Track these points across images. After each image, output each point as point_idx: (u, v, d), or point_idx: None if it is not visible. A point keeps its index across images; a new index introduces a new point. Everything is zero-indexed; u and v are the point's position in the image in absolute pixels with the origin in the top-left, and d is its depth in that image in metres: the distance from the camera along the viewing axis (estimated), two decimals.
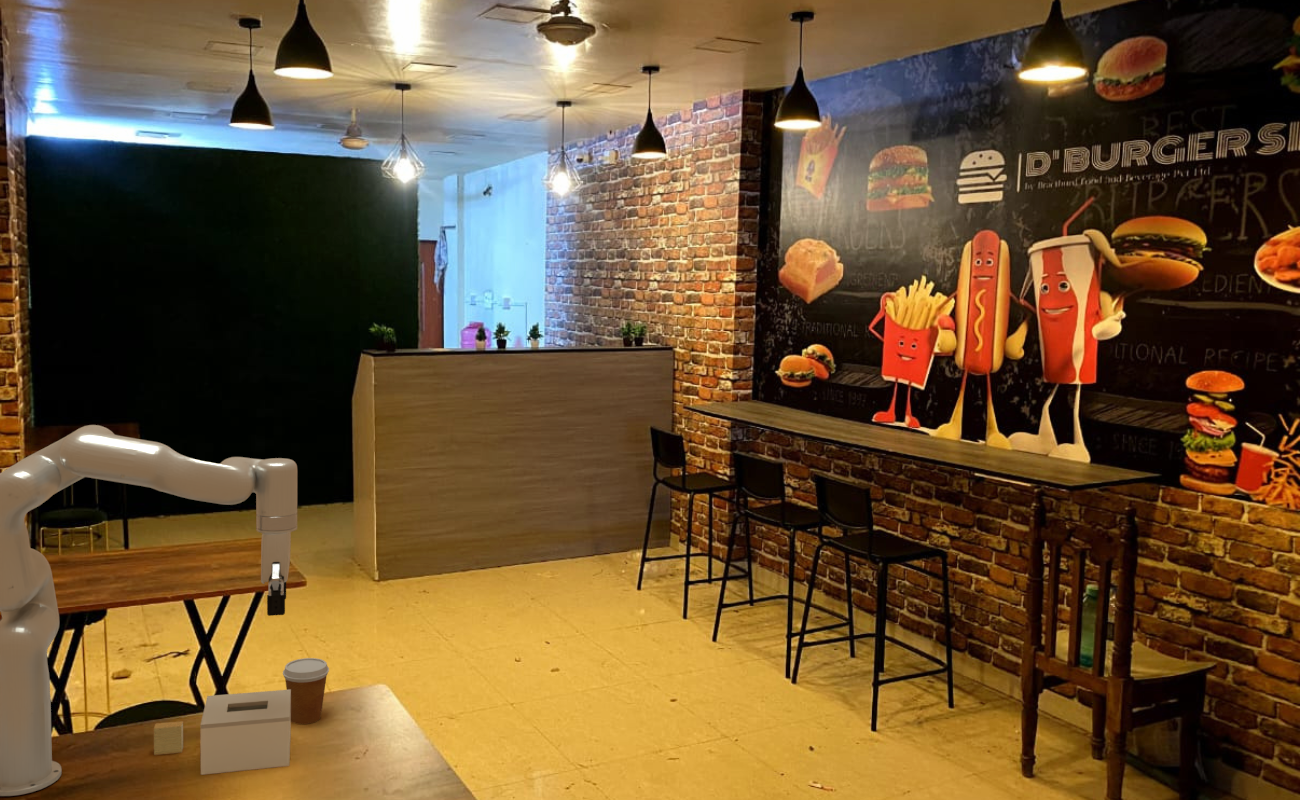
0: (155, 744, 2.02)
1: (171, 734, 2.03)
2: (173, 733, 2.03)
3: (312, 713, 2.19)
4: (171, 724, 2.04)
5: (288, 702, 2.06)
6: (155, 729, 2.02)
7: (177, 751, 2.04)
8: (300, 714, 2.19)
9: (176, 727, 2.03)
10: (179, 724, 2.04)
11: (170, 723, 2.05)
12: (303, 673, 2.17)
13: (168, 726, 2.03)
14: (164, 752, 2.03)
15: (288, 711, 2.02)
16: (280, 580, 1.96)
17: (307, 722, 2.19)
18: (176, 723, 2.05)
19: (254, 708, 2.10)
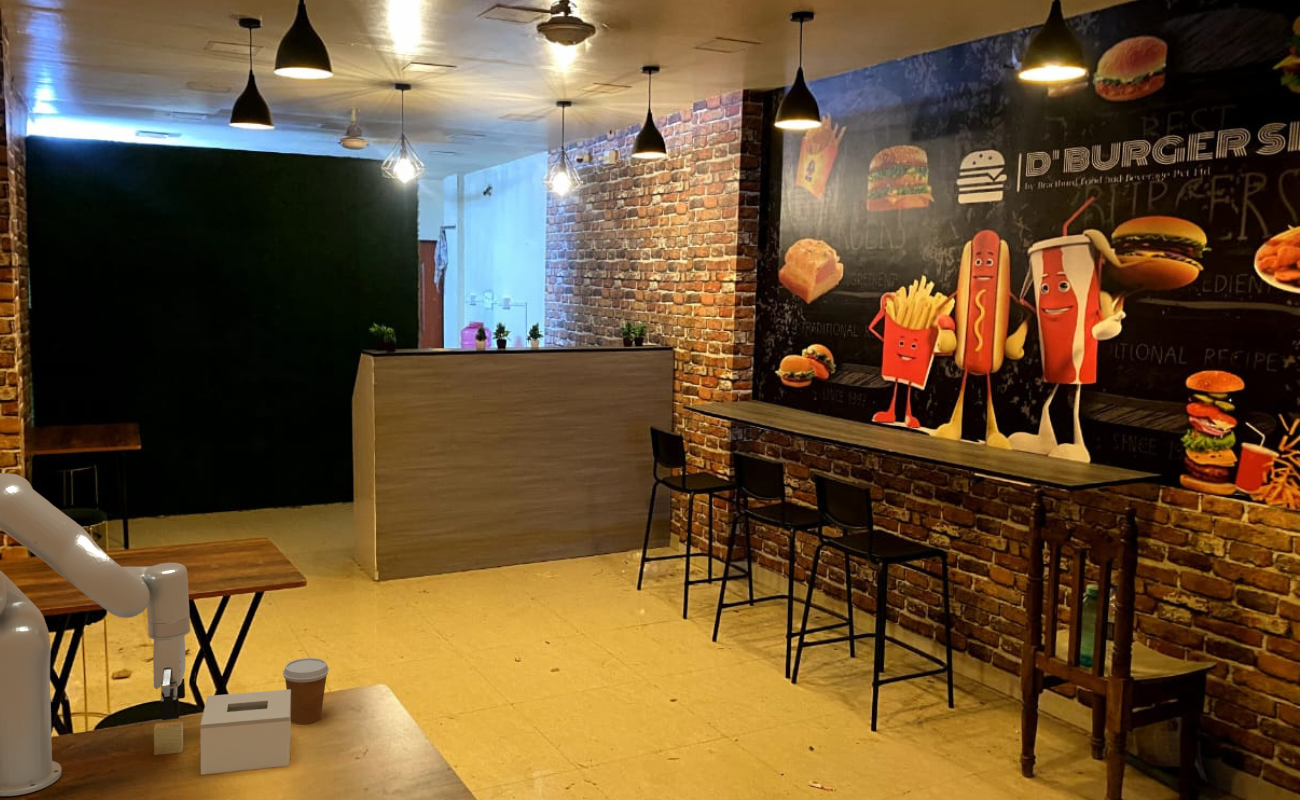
0: (155, 744, 2.02)
1: (171, 734, 2.03)
2: (173, 733, 2.03)
3: (312, 713, 2.19)
4: (171, 724, 2.04)
5: (288, 702, 2.06)
6: (155, 729, 2.02)
7: (177, 751, 2.04)
8: (300, 714, 2.19)
9: (176, 727, 2.03)
10: (180, 724, 2.04)
11: (170, 723, 2.05)
12: (303, 673, 2.17)
13: (168, 726, 2.03)
14: (164, 752, 2.03)
15: (288, 711, 2.02)
16: (173, 685, 1.99)
17: (307, 722, 2.19)
18: (176, 723, 2.05)
19: (254, 708, 2.10)
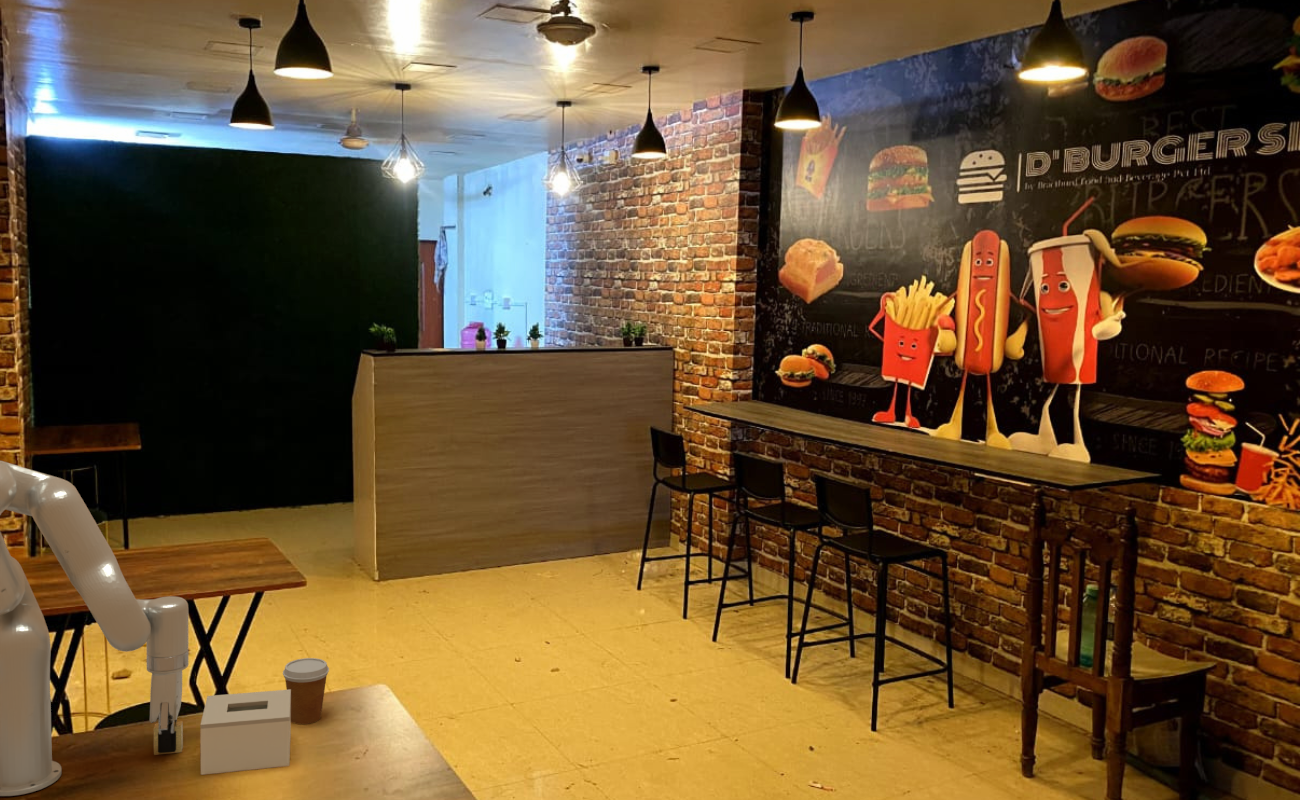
0: (155, 744, 2.02)
1: None
2: None
3: (312, 713, 2.19)
4: None
5: (288, 702, 2.06)
6: (155, 729, 2.02)
7: (177, 751, 2.04)
8: (300, 714, 2.19)
9: (176, 726, 2.03)
10: (179, 724, 2.04)
11: (170, 723, 2.04)
12: (303, 673, 2.17)
13: None
14: None
15: (288, 711, 2.02)
16: (170, 721, 2.01)
17: (307, 722, 2.19)
18: (176, 723, 2.05)
19: (254, 708, 2.10)
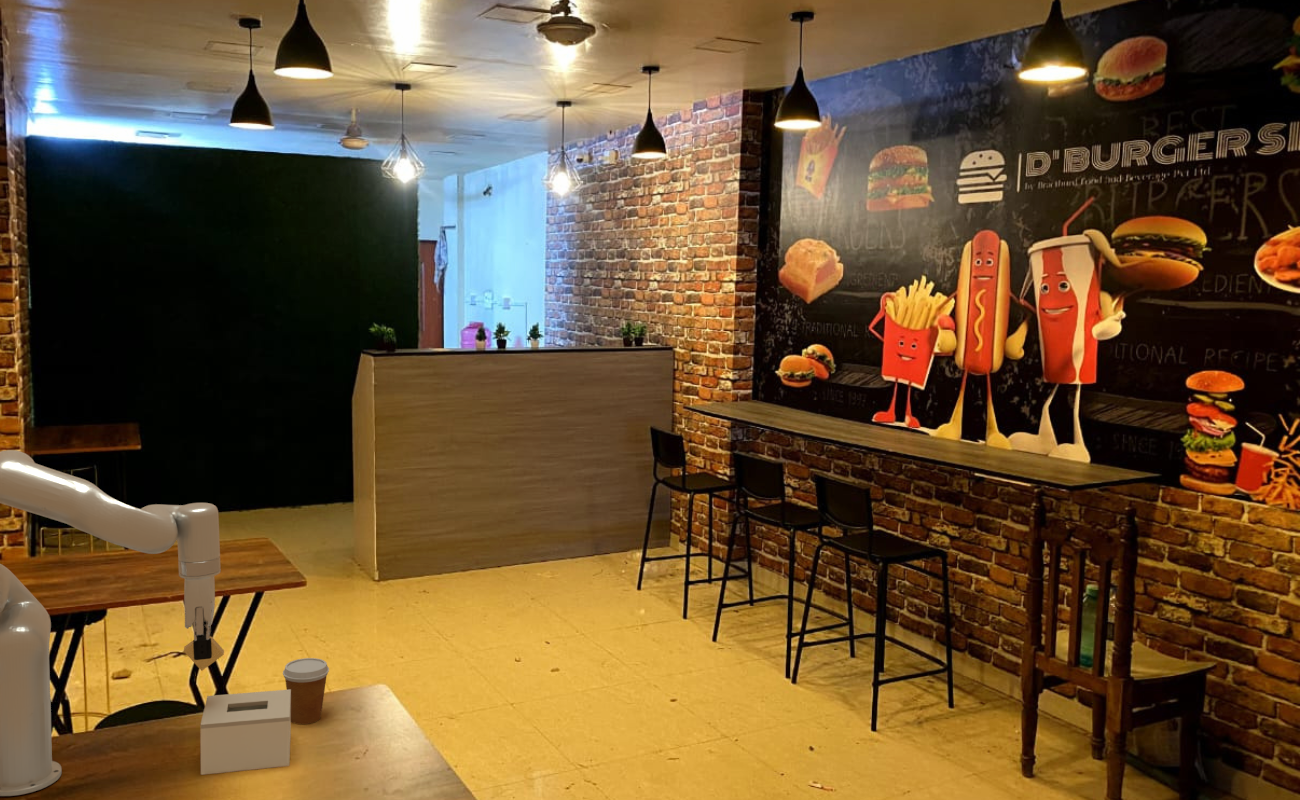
0: (195, 662, 2.01)
1: None
2: None
3: (312, 713, 2.19)
4: None
5: (288, 702, 2.06)
6: (185, 650, 2.00)
7: (219, 656, 2.03)
8: (300, 714, 2.19)
9: None
10: None
11: None
12: (303, 673, 2.17)
13: None
14: (208, 663, 2.02)
15: (288, 711, 2.02)
16: (205, 627, 2.00)
17: (307, 722, 2.19)
18: None
19: (254, 708, 2.10)
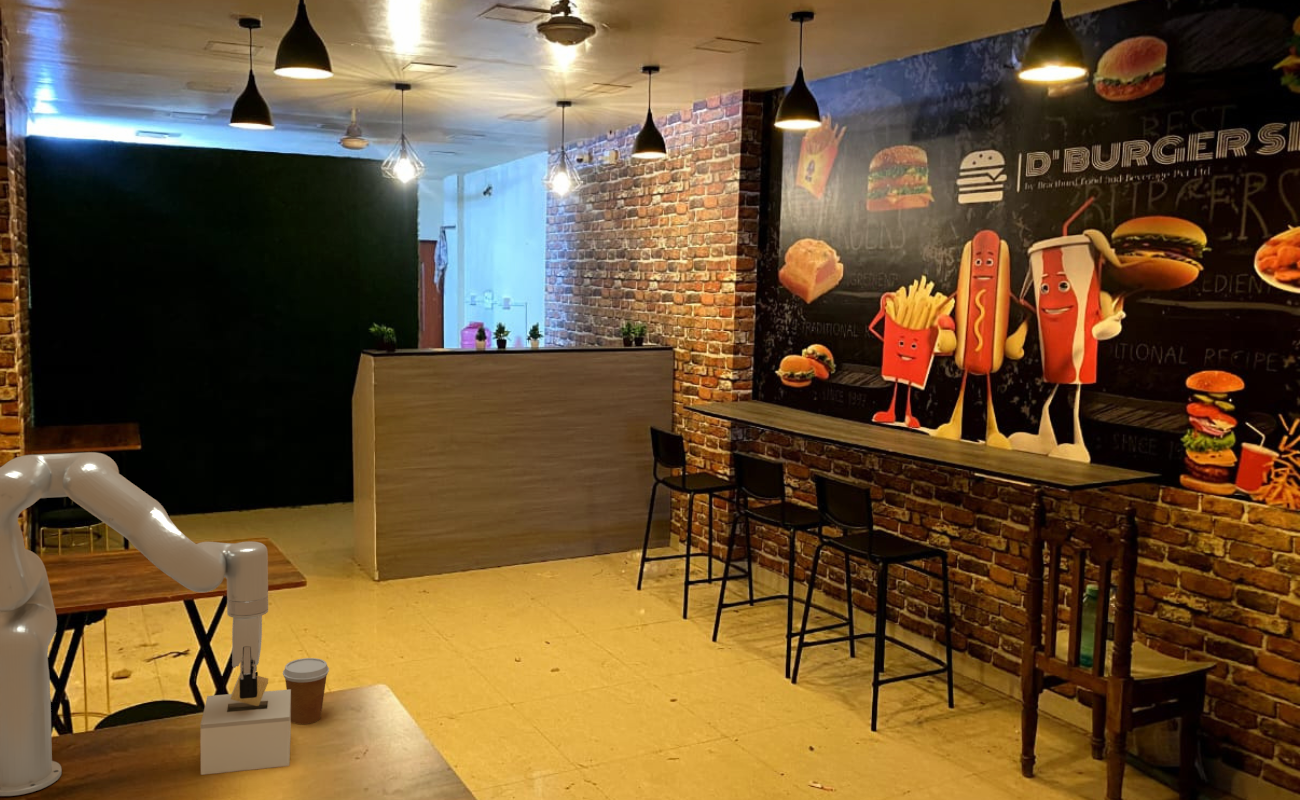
0: (247, 702, 2.02)
1: None
2: None
3: (312, 713, 2.19)
4: (236, 682, 2.02)
5: (288, 702, 2.06)
6: (232, 698, 2.01)
7: (264, 686, 2.03)
8: (300, 714, 2.19)
9: (238, 680, 2.01)
10: (239, 675, 2.02)
11: (236, 682, 2.03)
12: (303, 673, 2.17)
13: (235, 686, 2.02)
14: (260, 697, 2.03)
15: (288, 711, 2.02)
16: (252, 666, 2.00)
17: (307, 722, 2.19)
18: (238, 677, 2.03)
19: (254, 708, 2.10)
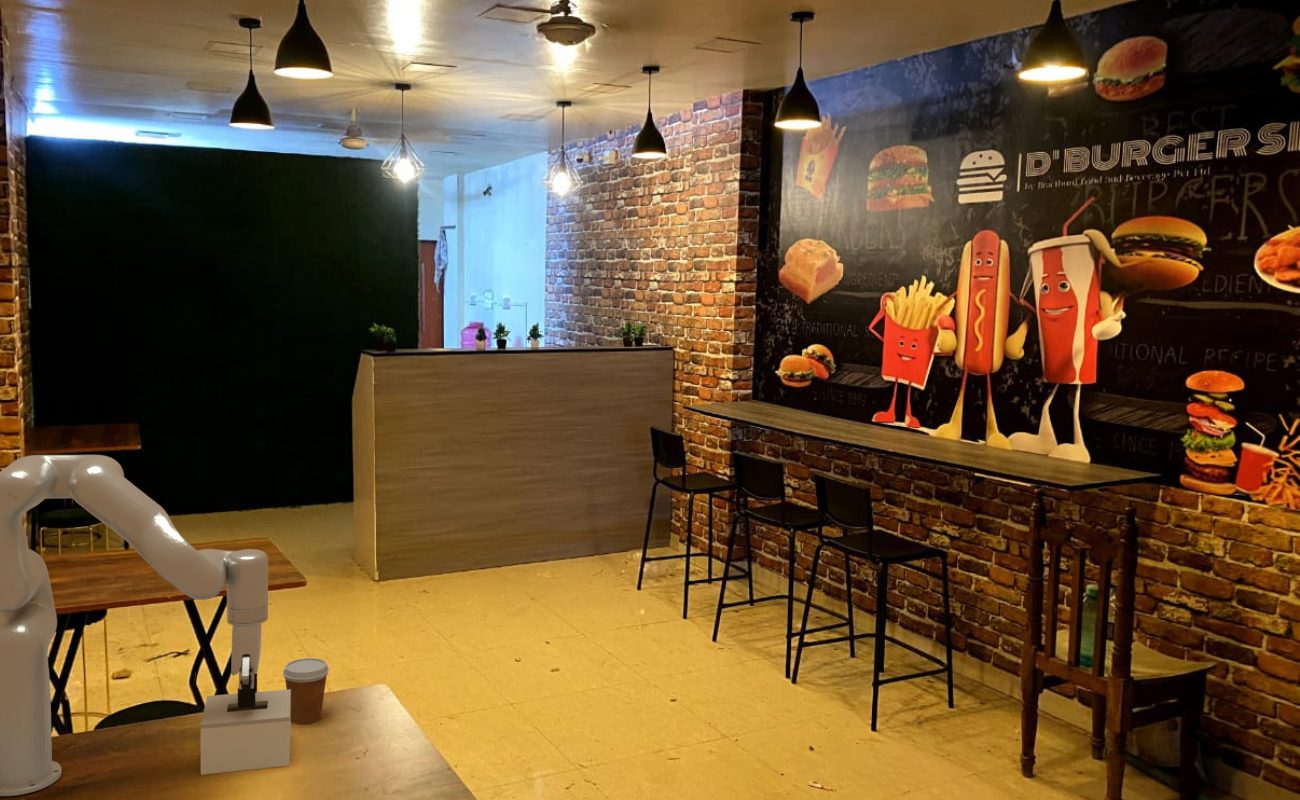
0: None
1: None
2: None
3: (312, 713, 2.19)
4: None
5: (288, 702, 2.06)
6: None
7: None
8: (300, 714, 2.19)
9: None
10: None
11: None
12: (303, 673, 2.17)
13: None
14: None
15: (288, 711, 2.02)
16: (250, 673, 1.99)
17: (307, 722, 2.19)
18: None
19: (254, 708, 2.10)
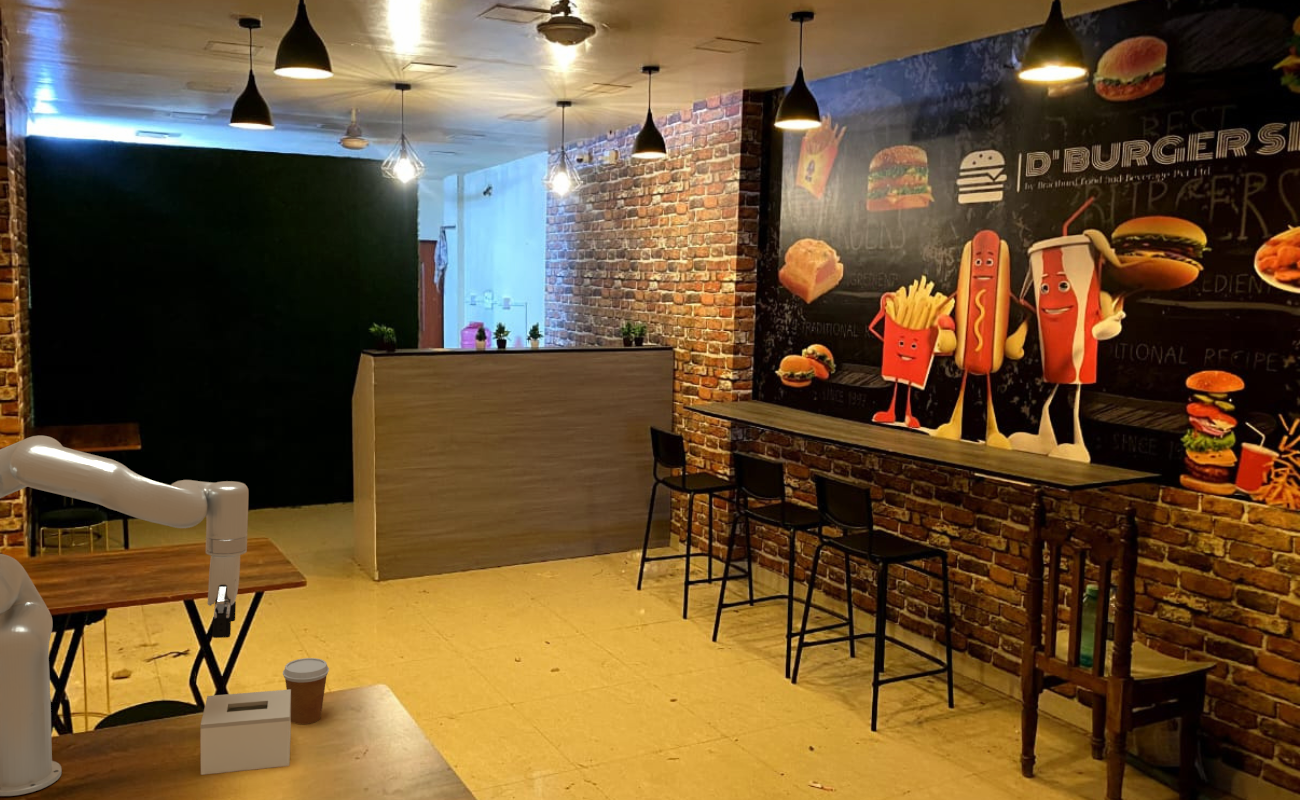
0: None
1: None
2: None
3: (312, 713, 2.19)
4: None
5: (288, 702, 2.06)
6: None
7: None
8: (300, 714, 2.19)
9: None
10: None
11: None
12: (303, 673, 2.17)
13: None
14: None
15: (288, 711, 2.02)
16: (226, 603, 1.98)
17: (307, 722, 2.19)
18: None
19: (254, 708, 2.10)
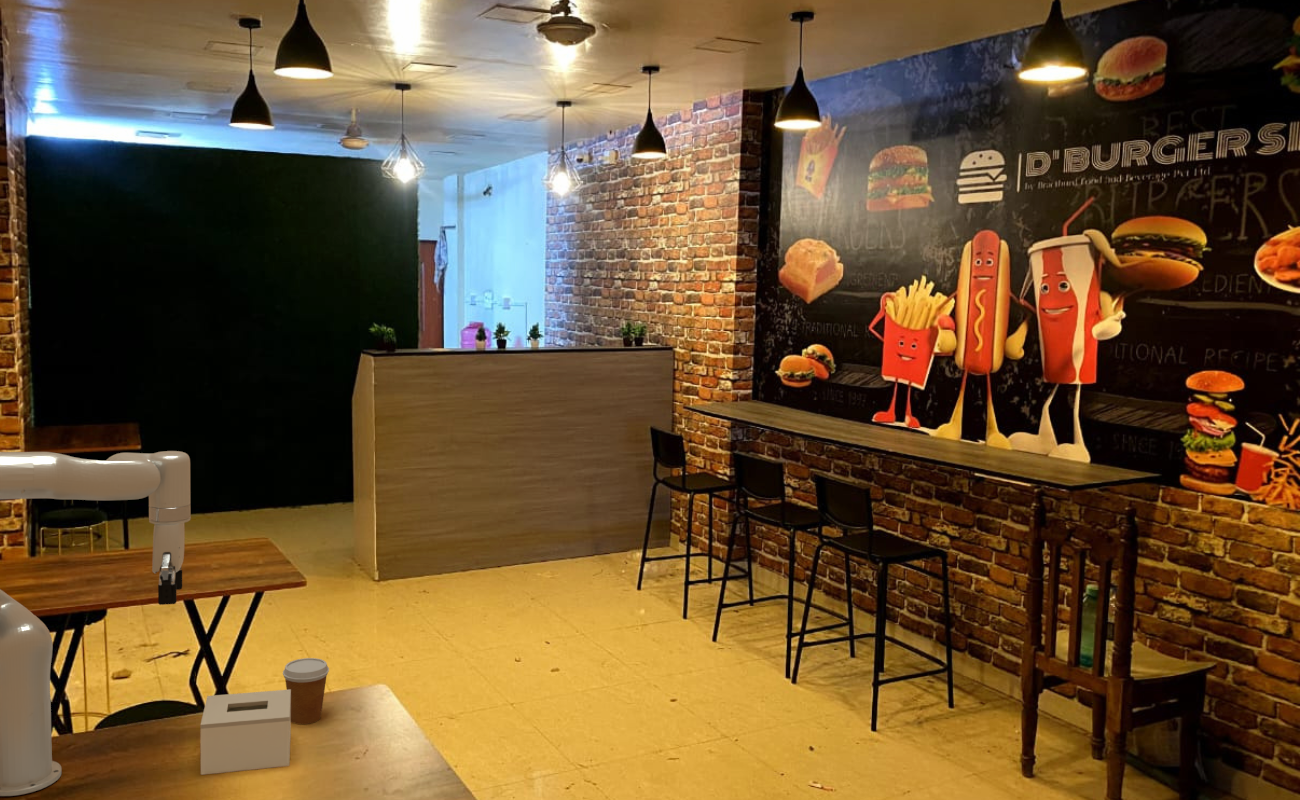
0: None
1: None
2: None
3: (312, 713, 2.19)
4: None
5: (288, 702, 2.06)
6: None
7: None
8: (300, 714, 2.19)
9: None
10: None
11: None
12: (303, 673, 2.17)
13: None
14: None
15: (288, 711, 2.02)
16: (171, 570, 2.01)
17: (307, 722, 2.19)
18: None
19: (254, 708, 2.10)
